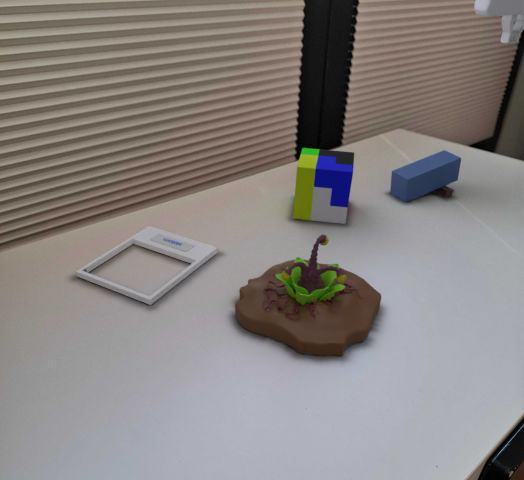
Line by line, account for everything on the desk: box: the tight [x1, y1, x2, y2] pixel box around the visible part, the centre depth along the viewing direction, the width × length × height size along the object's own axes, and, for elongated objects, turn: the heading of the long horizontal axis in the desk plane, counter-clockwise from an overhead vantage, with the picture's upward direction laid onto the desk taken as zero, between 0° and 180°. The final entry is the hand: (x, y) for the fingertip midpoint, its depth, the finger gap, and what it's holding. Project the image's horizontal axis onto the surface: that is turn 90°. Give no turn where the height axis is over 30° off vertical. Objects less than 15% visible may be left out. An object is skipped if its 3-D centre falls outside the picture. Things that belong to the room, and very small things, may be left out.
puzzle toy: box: [292, 147, 355, 225], centre depth 97 cm, size 10×10×10 cm
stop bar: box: [432, 185, 455, 199], centre depth 110 cm, size 2×9×2 cm, turn 29°
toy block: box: [389, 149, 462, 203], centre depth 106 cm, size 5×5×14 cm
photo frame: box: [75, 225, 219, 306], centre depth 83 cm, size 15×1×18 cm
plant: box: [234, 234, 382, 357], centre depth 72 cm, size 20×20×11 cm
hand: (508, 42), depth 96 cm, fingers closed
